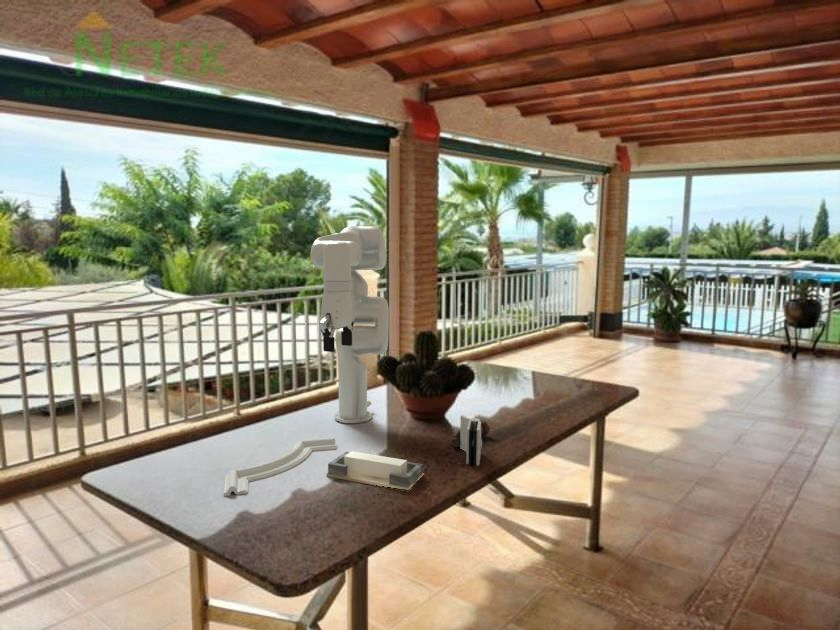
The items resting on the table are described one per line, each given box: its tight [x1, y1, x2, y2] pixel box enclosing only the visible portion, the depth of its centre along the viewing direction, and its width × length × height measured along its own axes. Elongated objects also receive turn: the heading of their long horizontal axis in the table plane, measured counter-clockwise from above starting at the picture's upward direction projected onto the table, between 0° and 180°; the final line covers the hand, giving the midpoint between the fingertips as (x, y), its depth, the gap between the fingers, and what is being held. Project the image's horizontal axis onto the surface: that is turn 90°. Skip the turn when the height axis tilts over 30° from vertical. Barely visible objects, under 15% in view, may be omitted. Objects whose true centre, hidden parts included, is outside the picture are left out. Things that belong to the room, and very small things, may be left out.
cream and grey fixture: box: [326, 451, 425, 491], centre depth 153 cm, size 10×23×3 cm, turn 68°
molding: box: [223, 437, 337, 497], centre depth 160 cm, size 42×12×3 cm, turn 151°
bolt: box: [450, 419, 490, 448], centre depth 179 cm, size 6×5×15 cm
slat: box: [344, 450, 408, 479], centre depth 153 cm, size 4×16×4 cm, turn 67°
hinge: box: [459, 414, 483, 467], centre depth 166 cm, size 14×5×10 cm, turn 4°
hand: (338, 348), depth 165 cm, fingers open, 9 cm apart
